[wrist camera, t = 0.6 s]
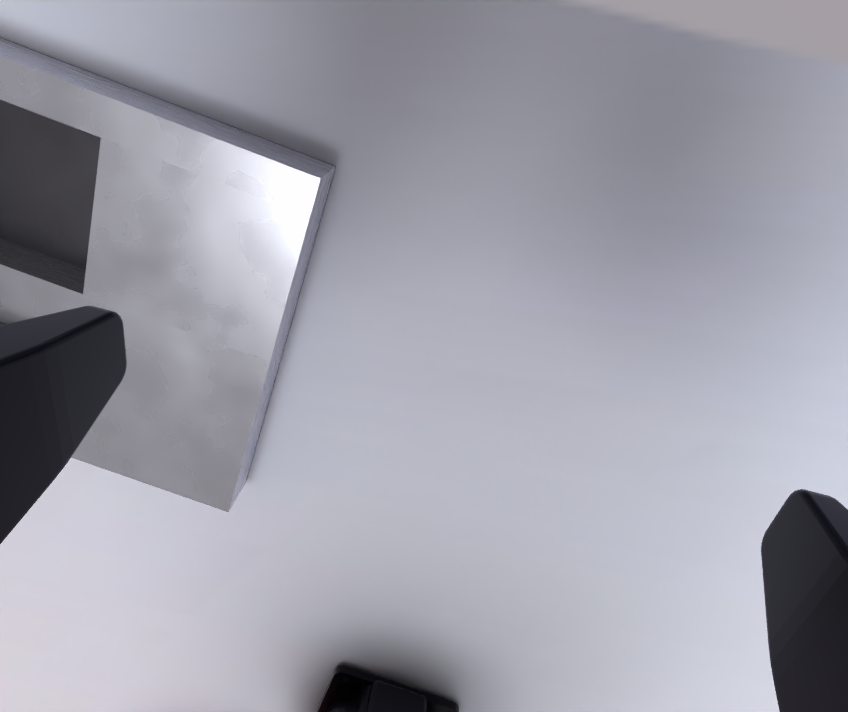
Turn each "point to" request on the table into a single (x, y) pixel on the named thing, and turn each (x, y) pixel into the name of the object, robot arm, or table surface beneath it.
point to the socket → (156, 261)
